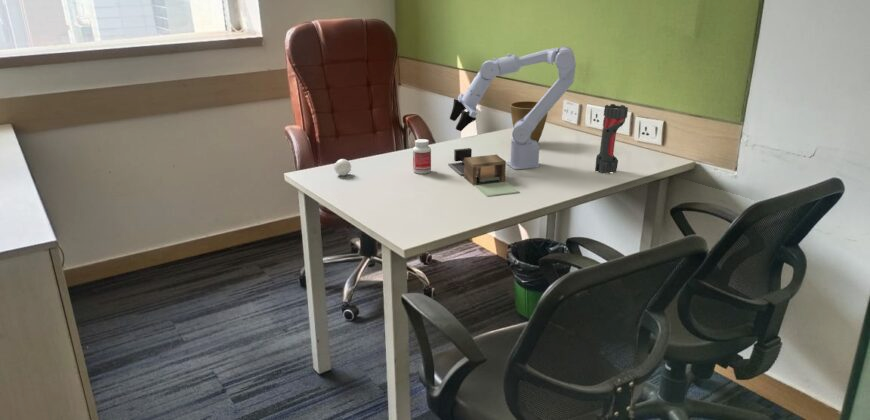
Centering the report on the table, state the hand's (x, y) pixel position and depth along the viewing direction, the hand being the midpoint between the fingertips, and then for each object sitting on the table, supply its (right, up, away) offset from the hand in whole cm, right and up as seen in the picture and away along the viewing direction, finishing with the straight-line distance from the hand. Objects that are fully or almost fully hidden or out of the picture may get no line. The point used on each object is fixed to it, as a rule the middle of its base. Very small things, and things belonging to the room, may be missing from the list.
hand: (455, 124), depth 228 cm
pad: (+13, -23, -22) cm, 35 cm away
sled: (+7, -16, -6) cm, 18 cm away
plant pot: (+29, -4, +28) cm, 41 cm away
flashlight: (+53, -17, -5) cm, 56 cm away
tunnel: (+9, -20, -13) cm, 25 cm away
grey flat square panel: (+5, -16, -2) cm, 17 cm away
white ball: (-39, -18, -7) cm, 44 cm away
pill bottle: (-12, -17, -4) cm, 21 cm away
